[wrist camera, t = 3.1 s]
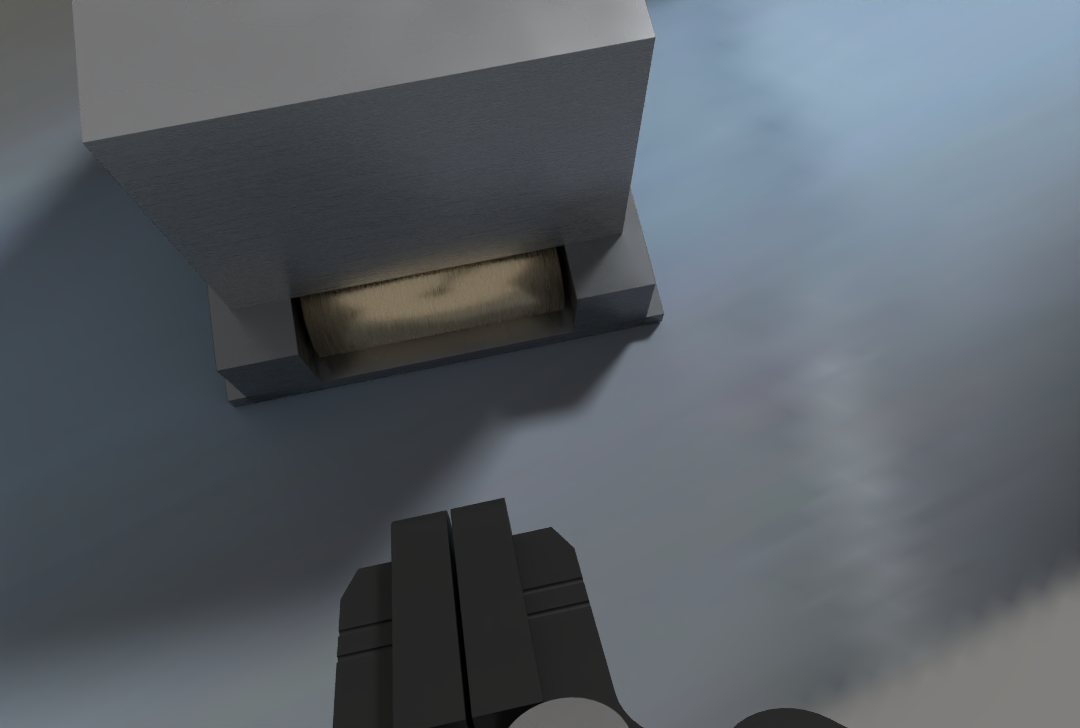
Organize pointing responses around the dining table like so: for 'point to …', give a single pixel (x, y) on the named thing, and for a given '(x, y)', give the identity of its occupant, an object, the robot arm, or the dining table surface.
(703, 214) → the dining table surface
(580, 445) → the dining table surface
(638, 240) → the roller track
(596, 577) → the dining table surface
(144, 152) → the block
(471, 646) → the robot arm
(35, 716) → the dining table surface
